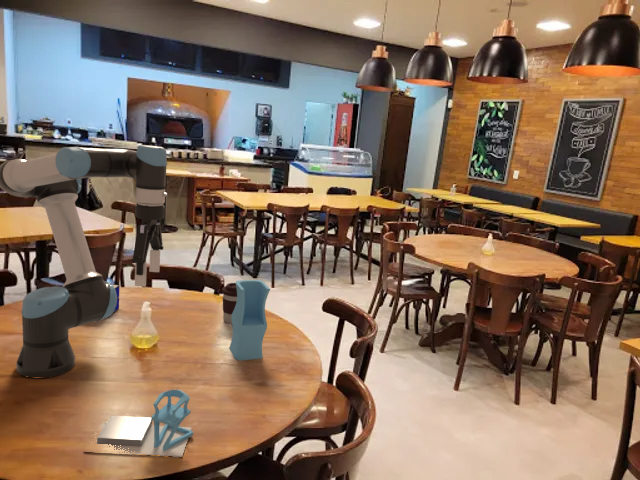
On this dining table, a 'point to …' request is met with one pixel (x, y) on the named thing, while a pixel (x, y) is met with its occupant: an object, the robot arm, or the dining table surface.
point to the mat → (148, 444)
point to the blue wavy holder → (249, 320)
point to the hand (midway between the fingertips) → (147, 278)
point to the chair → (171, 418)
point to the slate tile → (125, 430)
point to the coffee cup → (229, 301)
